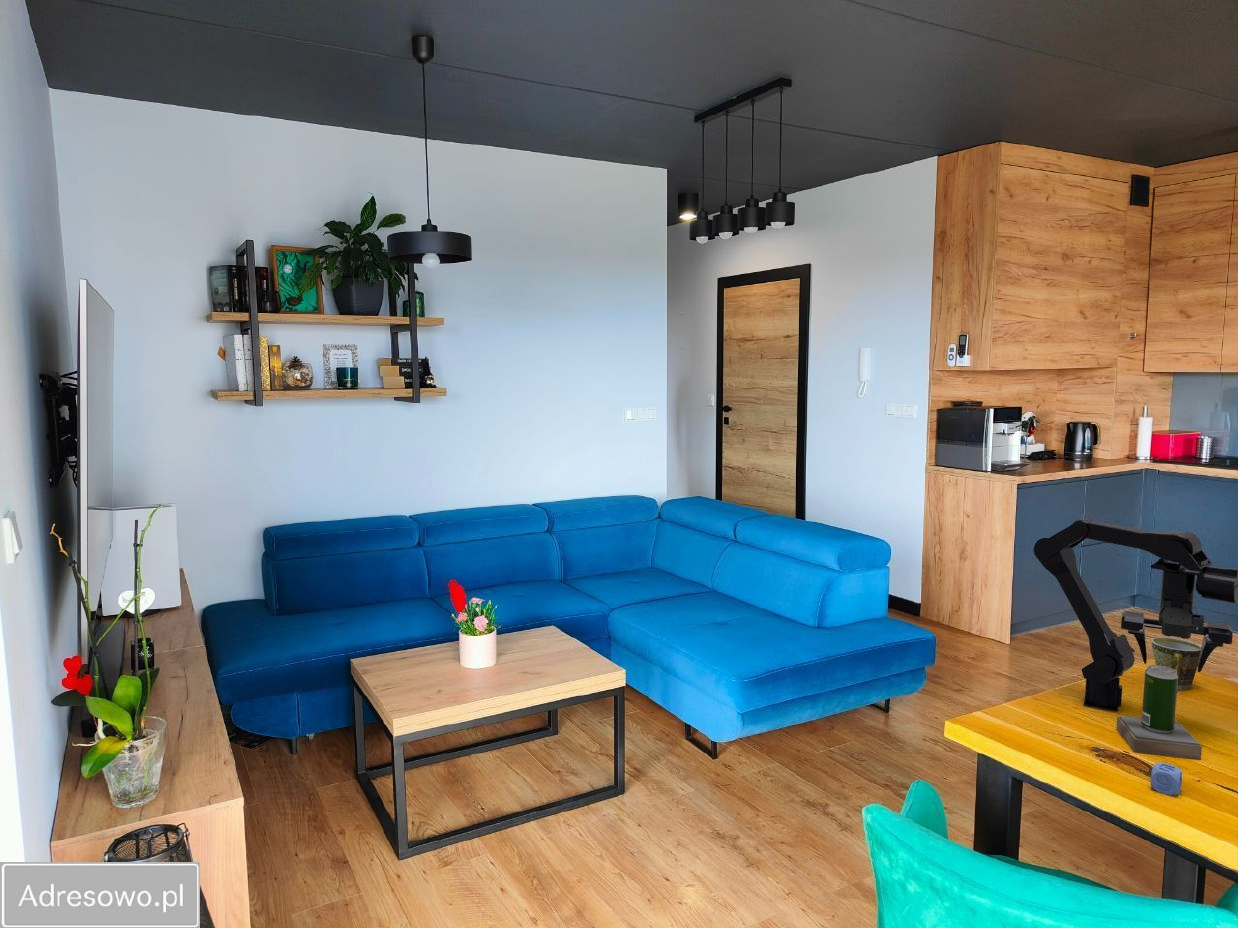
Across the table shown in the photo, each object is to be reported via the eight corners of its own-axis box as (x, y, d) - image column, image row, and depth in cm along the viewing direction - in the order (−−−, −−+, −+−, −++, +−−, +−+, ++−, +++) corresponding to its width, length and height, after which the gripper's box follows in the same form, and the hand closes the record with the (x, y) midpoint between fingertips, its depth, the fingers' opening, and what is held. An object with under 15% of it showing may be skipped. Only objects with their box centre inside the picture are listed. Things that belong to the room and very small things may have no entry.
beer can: (1157, 735, 156) (1162, 674, 155) (1134, 724, 162) (1138, 665, 161) (1180, 733, 158) (1185, 673, 156) (1157, 722, 163) (1161, 663, 162)
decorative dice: (1181, 789, 142) (1183, 767, 141) (1177, 798, 139) (1179, 775, 138) (1154, 782, 144) (1155, 760, 144) (1149, 790, 141) (1151, 768, 141)
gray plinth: (1116, 729, 167) (1117, 714, 166) (1177, 735, 164) (1179, 721, 163) (1134, 752, 156) (1135, 737, 156) (1200, 759, 153) (1202, 744, 153)
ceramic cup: (1147, 674, 199) (1150, 634, 198) (1197, 682, 194) (1200, 641, 193) (1150, 691, 187) (1153, 649, 186) (1203, 700, 182) (1207, 657, 181)
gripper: (1123, 595, 165) (1117, 669, 167) (1238, 609, 155) (1231, 688, 157) (1123, 584, 175) (1119, 655, 176) (1232, 596, 165) (1226, 671, 166)
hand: (1171, 667), depth 168 cm, fingers open, 9 cm apart
